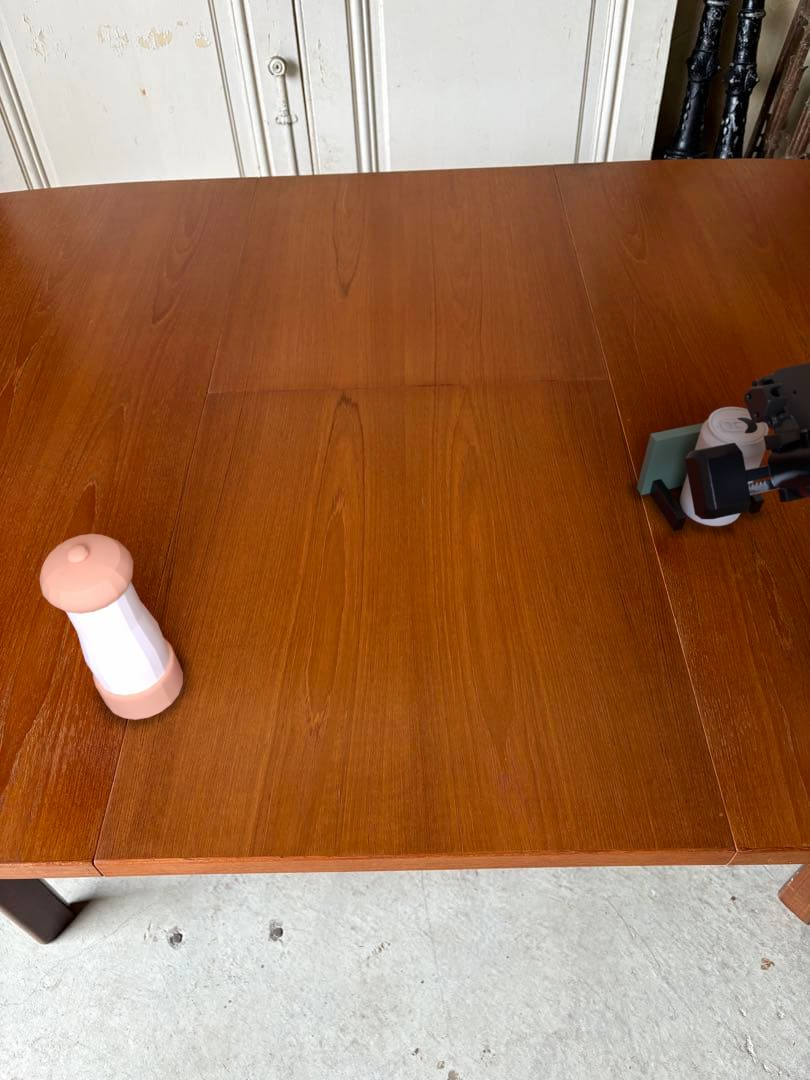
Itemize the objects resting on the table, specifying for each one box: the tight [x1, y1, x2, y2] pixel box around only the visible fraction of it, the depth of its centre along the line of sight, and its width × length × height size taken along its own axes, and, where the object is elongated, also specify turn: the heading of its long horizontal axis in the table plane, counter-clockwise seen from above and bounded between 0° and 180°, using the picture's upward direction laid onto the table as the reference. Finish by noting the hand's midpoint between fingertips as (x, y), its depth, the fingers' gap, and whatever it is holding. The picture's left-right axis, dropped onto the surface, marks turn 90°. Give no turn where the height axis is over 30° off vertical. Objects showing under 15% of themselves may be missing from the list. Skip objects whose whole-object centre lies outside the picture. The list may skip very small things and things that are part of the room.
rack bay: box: [636, 422, 765, 532], centre depth 86 cm, size 7×12×8 cm, turn 105°
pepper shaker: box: [39, 533, 184, 721], centre depth 68 cm, size 7×7×19 cm
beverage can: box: [679, 406, 769, 527], centre depth 84 cm, size 6×6×12 cm
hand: (738, 470), depth 81 cm, fingers open, 9 cm apart
